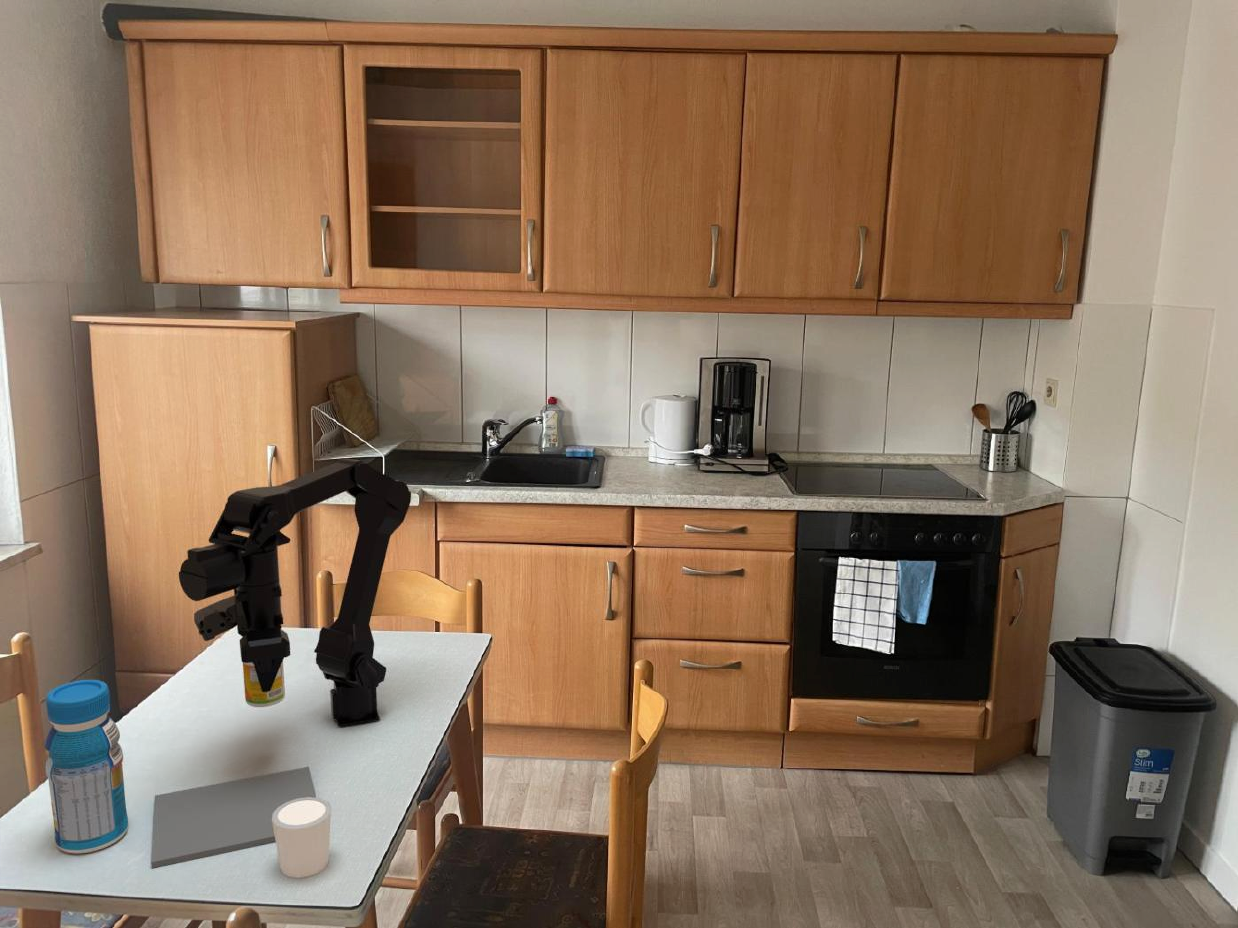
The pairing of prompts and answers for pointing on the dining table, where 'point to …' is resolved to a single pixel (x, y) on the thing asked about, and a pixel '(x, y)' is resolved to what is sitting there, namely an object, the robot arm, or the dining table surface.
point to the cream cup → (302, 836)
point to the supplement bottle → (254, 691)
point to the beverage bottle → (84, 768)
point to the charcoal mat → (222, 815)
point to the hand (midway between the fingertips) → (264, 683)
